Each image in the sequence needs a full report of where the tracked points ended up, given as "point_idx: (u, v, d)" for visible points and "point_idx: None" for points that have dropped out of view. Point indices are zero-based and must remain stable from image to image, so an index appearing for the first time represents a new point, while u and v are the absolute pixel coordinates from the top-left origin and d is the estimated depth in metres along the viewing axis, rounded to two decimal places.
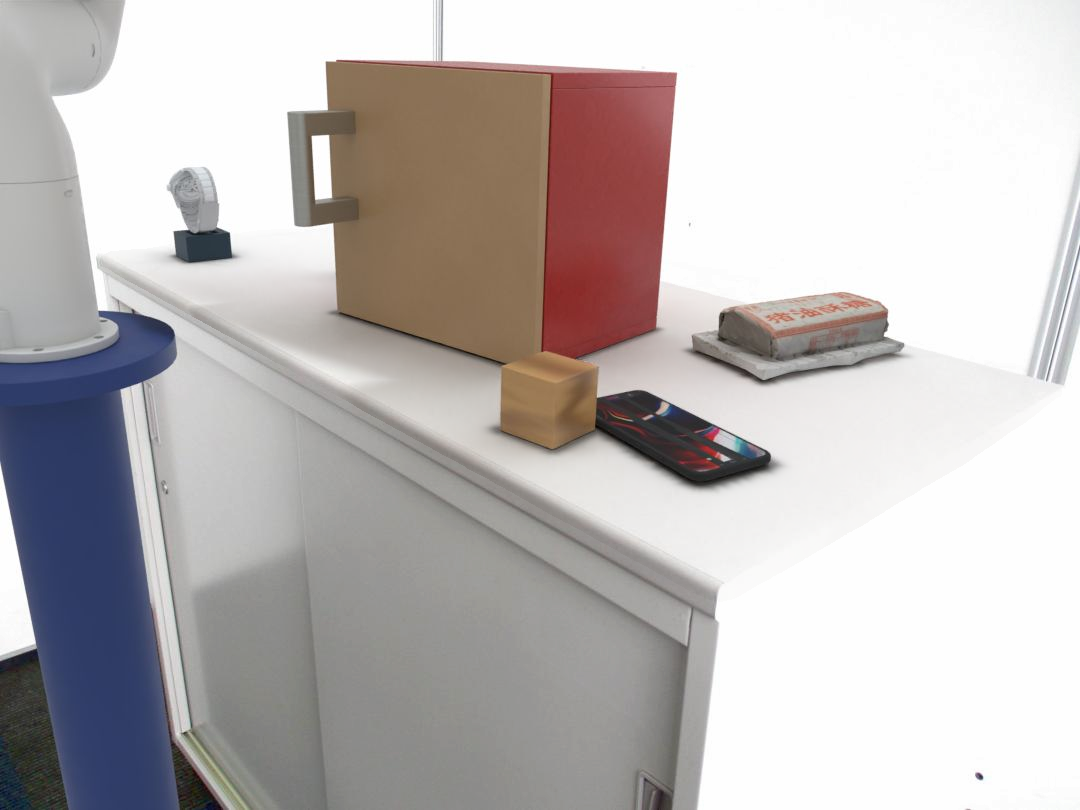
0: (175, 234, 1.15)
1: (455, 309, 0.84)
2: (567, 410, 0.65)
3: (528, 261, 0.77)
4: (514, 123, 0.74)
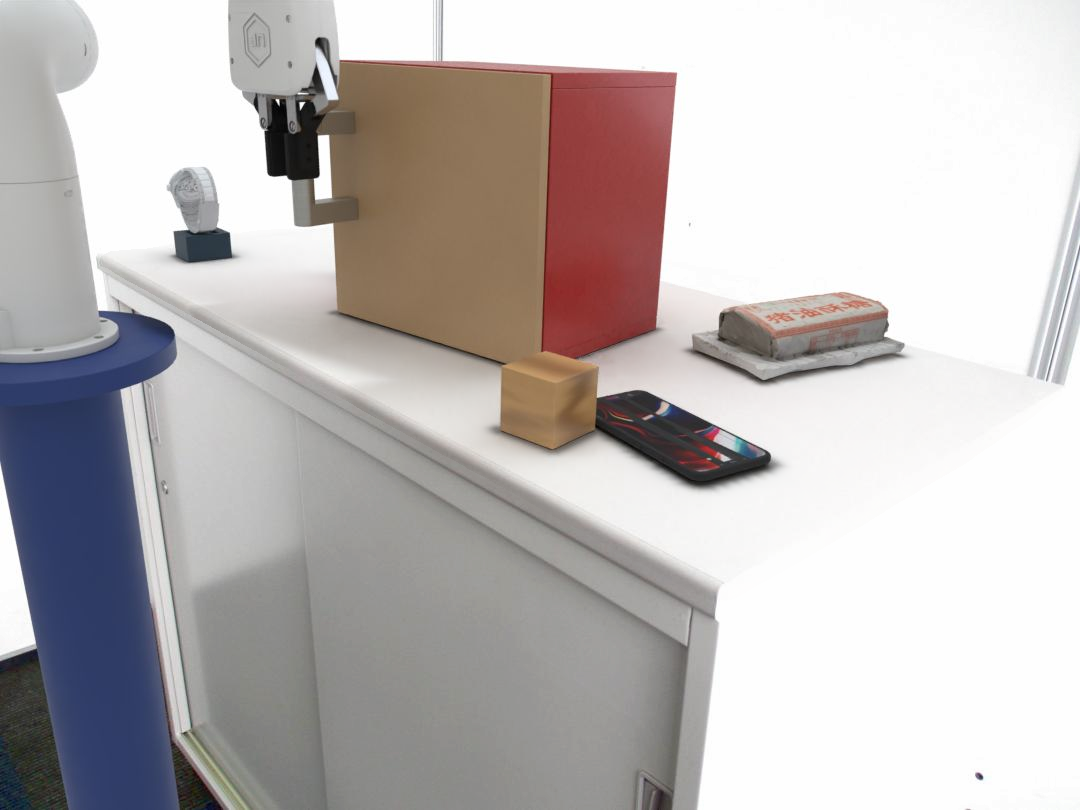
0: (175, 234, 1.15)
1: (455, 309, 0.84)
2: (567, 410, 0.65)
3: (528, 261, 0.77)
4: (514, 123, 0.74)
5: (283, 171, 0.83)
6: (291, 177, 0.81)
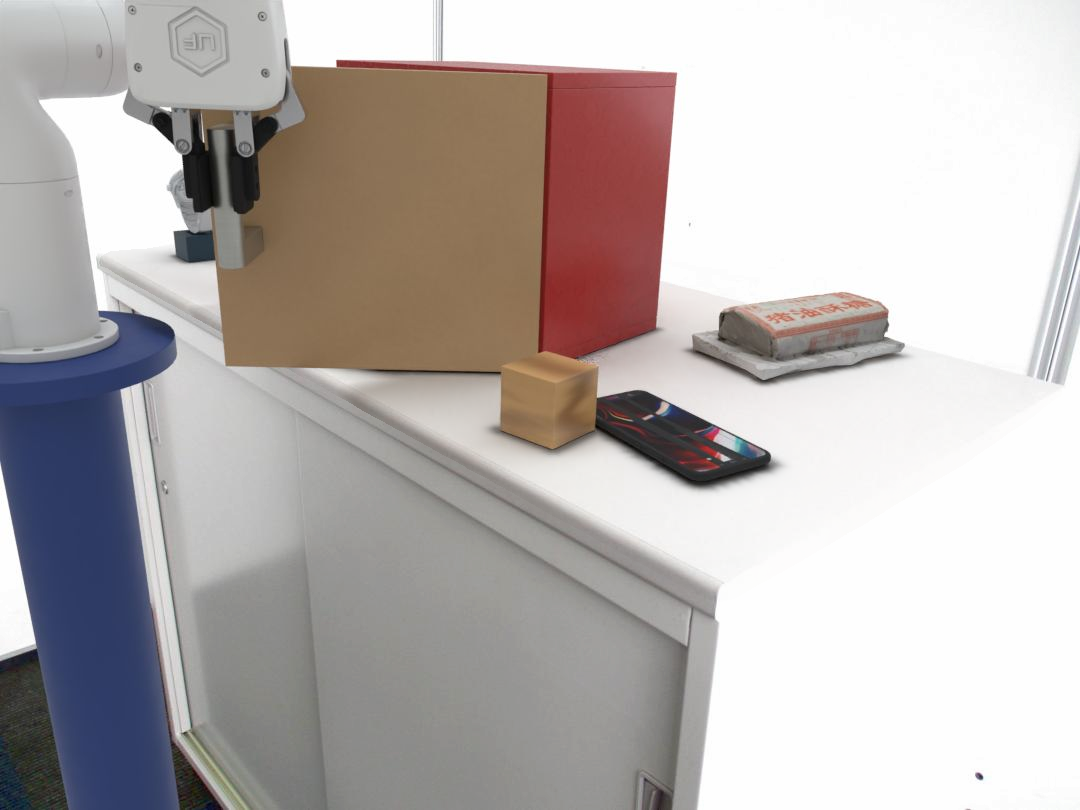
0: (175, 234, 1.15)
1: (427, 329, 0.78)
2: (567, 410, 0.65)
3: (529, 263, 0.76)
4: (510, 125, 0.72)
5: (208, 204, 0.67)
6: (243, 210, 0.66)
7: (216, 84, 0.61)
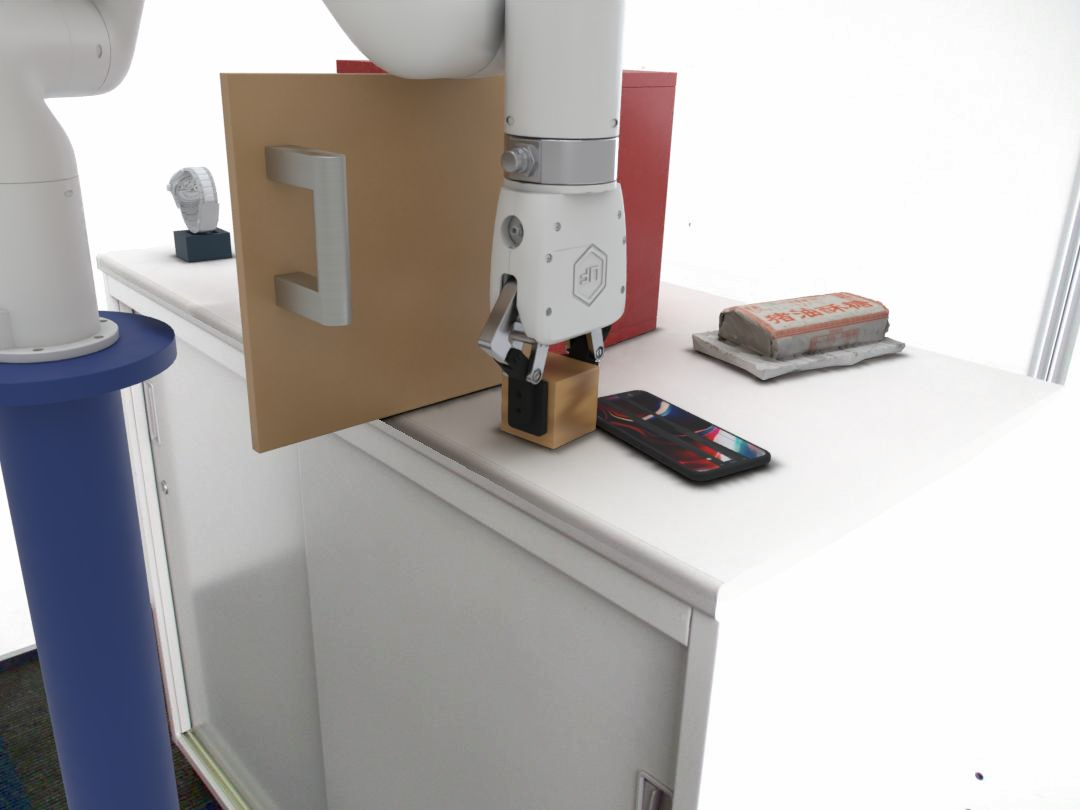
0: (175, 234, 1.15)
1: (456, 352, 0.72)
2: (568, 410, 0.65)
3: None
4: None
5: None
6: None
7: (596, 310, 0.63)
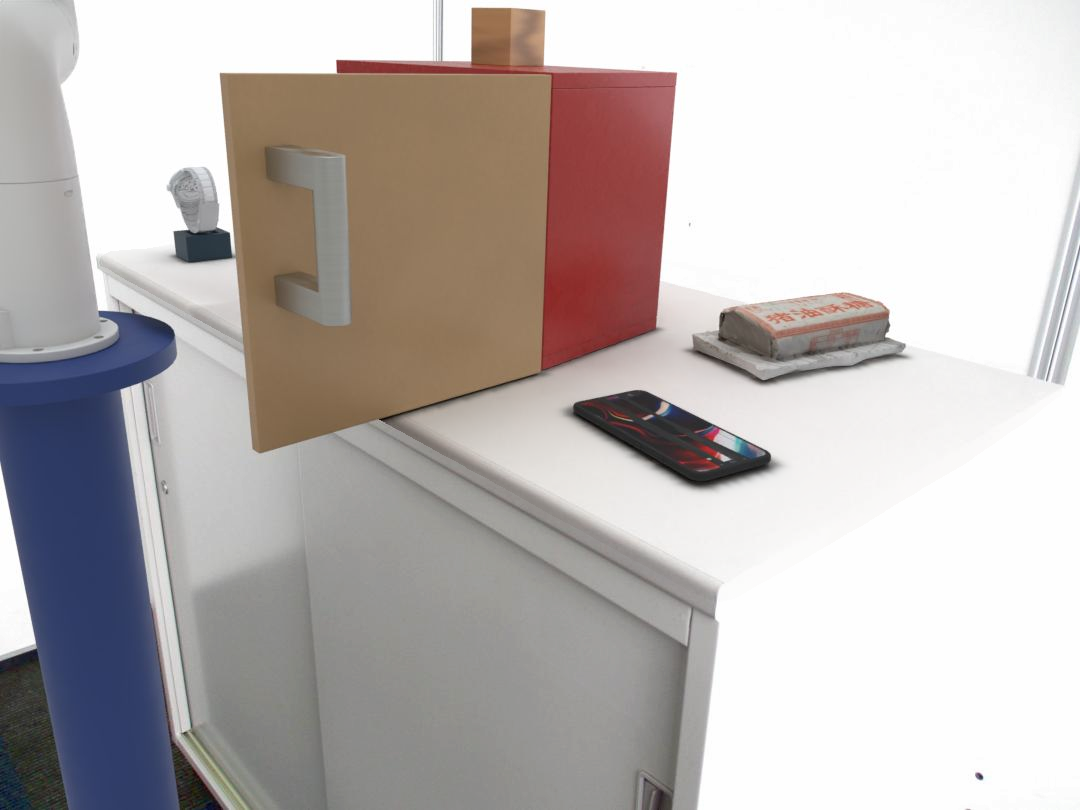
0: (175, 234, 1.15)
1: (456, 352, 0.72)
2: (520, 36, 0.86)
3: (537, 264, 0.75)
4: (524, 127, 0.70)
5: None
6: None
7: None
